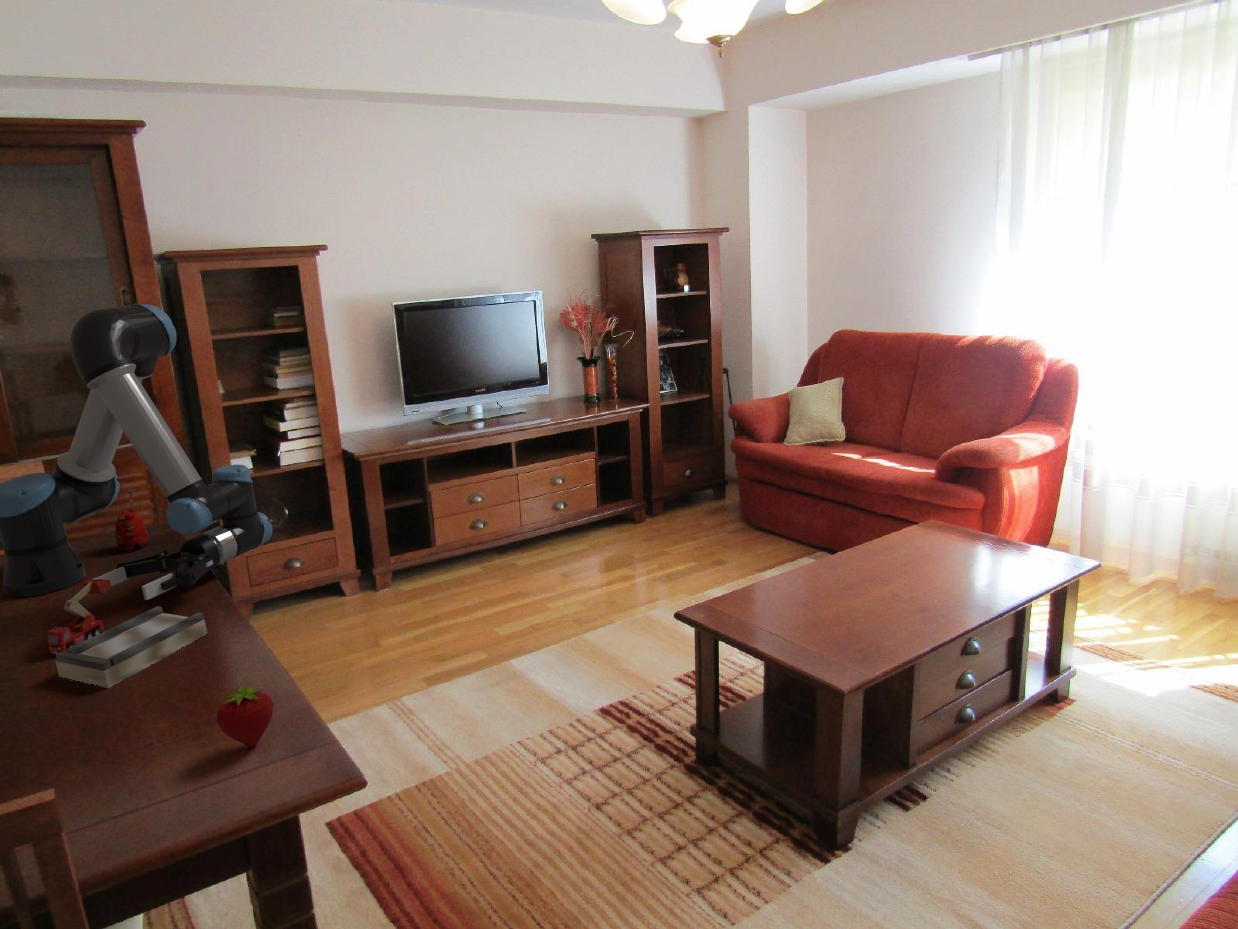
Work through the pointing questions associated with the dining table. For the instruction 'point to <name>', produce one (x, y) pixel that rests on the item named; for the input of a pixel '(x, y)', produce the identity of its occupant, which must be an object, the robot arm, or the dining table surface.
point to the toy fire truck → (78, 619)
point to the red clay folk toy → (130, 529)
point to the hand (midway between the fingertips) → (119, 589)
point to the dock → (129, 647)
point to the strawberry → (246, 715)
